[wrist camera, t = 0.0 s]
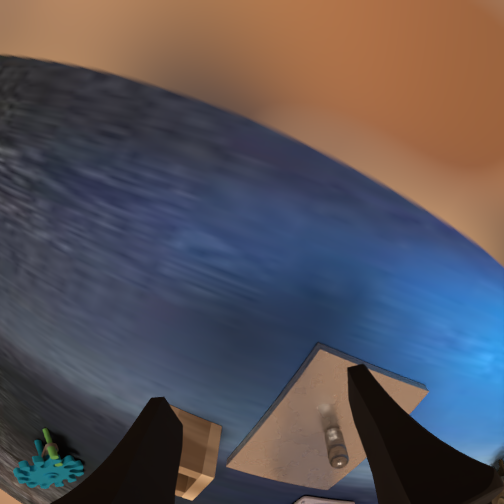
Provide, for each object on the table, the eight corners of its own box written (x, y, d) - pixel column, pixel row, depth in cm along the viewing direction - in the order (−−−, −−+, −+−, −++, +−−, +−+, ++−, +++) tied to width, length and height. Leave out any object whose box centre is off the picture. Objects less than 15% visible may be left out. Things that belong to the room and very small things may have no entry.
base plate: (326, 483, 27) (332, 519, 22) (226, 459, 26) (222, 499, 21) (424, 385, 23) (448, 421, 18) (317, 342, 22) (330, 385, 17)
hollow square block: (201, 453, 26) (192, 500, 20) (154, 433, 25) (137, 479, 20) (221, 426, 25) (214, 478, 19) (169, 404, 24) (151, 454, 18)
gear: (76, 490, 28) (14, 492, 20) (61, 457, 32) (2, 455, 24) (97, 458, 27) (21, 459, 19) (80, 420, 31) (9, 415, 23)
